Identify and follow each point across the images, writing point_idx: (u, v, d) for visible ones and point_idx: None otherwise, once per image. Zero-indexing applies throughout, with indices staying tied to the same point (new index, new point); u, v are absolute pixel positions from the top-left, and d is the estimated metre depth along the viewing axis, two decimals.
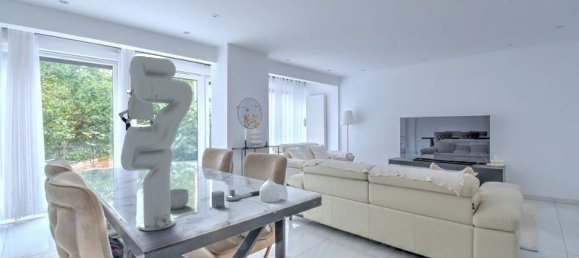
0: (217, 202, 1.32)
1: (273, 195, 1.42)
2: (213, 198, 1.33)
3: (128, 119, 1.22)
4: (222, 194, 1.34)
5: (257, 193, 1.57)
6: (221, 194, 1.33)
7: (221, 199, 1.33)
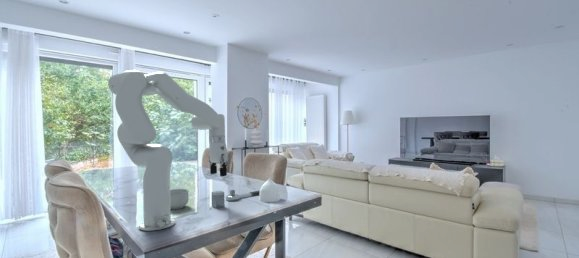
0: (217, 202, 1.32)
1: (273, 195, 1.42)
2: (213, 198, 1.33)
3: None
4: (222, 194, 1.34)
5: (257, 193, 1.57)
6: (221, 194, 1.33)
7: (221, 199, 1.33)
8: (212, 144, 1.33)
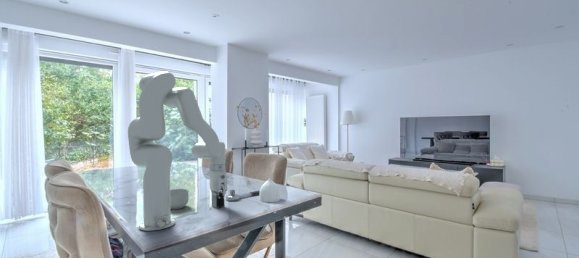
0: None
1: (273, 195, 1.42)
2: (213, 198, 1.33)
3: None
4: None
5: (257, 193, 1.57)
6: None
7: None
8: (212, 172, 1.33)
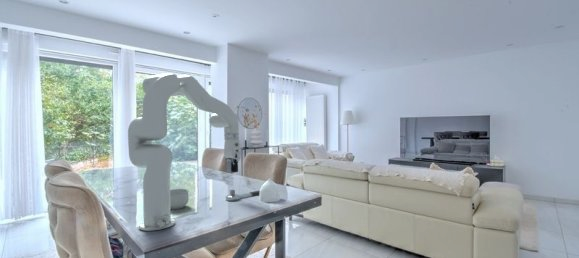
0: None
1: (273, 195, 1.42)
2: (228, 164, 1.47)
3: None
4: None
5: (257, 193, 1.57)
6: None
7: None
8: (227, 141, 1.46)
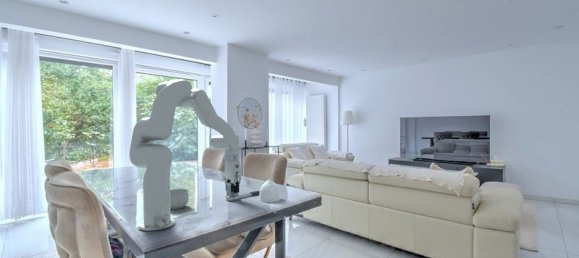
0: (232, 191, 1.45)
1: (273, 195, 1.42)
2: (228, 188, 1.46)
3: None
4: None
5: (257, 193, 1.57)
6: None
7: None
8: (227, 162, 1.46)
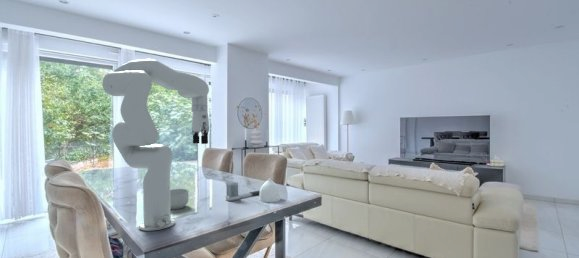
0: (232, 191, 1.45)
1: (273, 195, 1.42)
2: (228, 188, 1.46)
3: None
4: (236, 184, 1.47)
5: (257, 193, 1.57)
6: (235, 184, 1.47)
7: (235, 189, 1.46)
8: (194, 113, 1.38)
